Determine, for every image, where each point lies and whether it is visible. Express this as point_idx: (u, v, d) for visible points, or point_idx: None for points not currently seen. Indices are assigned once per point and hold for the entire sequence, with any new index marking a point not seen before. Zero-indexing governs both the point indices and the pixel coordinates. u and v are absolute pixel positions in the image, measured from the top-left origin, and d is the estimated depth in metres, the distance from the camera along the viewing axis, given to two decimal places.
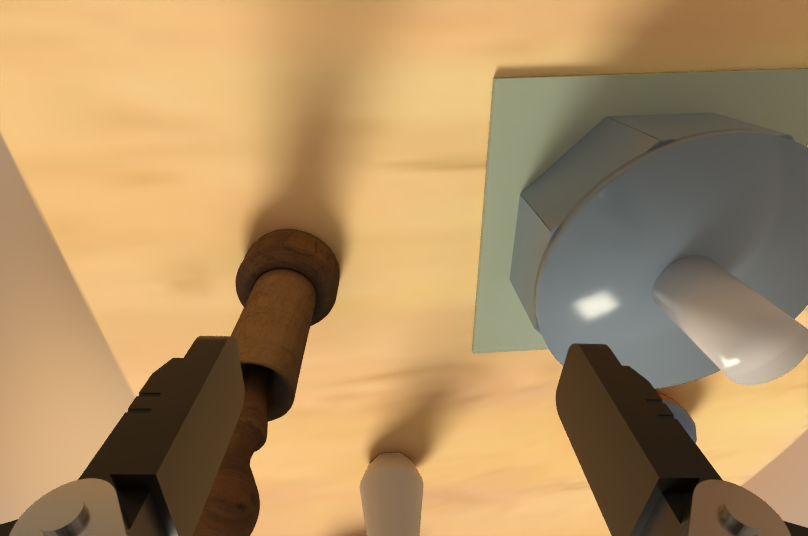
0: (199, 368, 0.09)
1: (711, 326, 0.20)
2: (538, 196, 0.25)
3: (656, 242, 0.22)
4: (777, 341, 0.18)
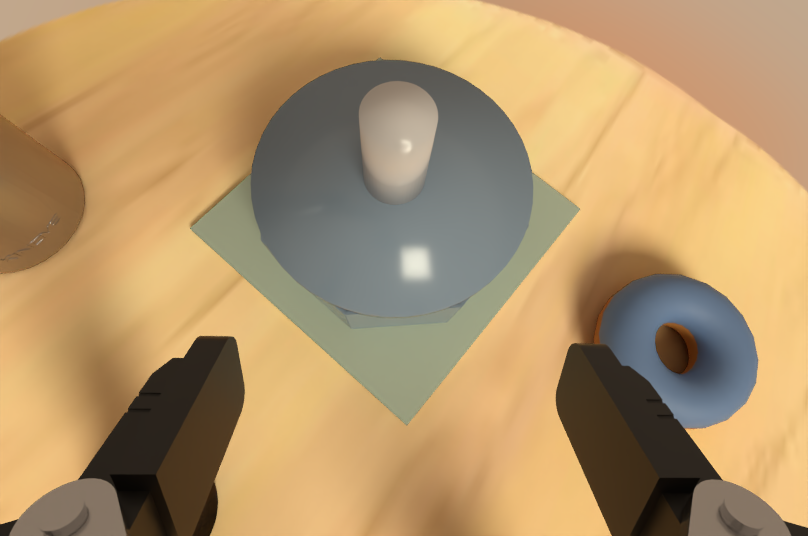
0: (199, 368, 0.09)
1: (365, 149, 0.20)
2: None
3: (331, 175, 0.25)
4: (387, 103, 0.19)
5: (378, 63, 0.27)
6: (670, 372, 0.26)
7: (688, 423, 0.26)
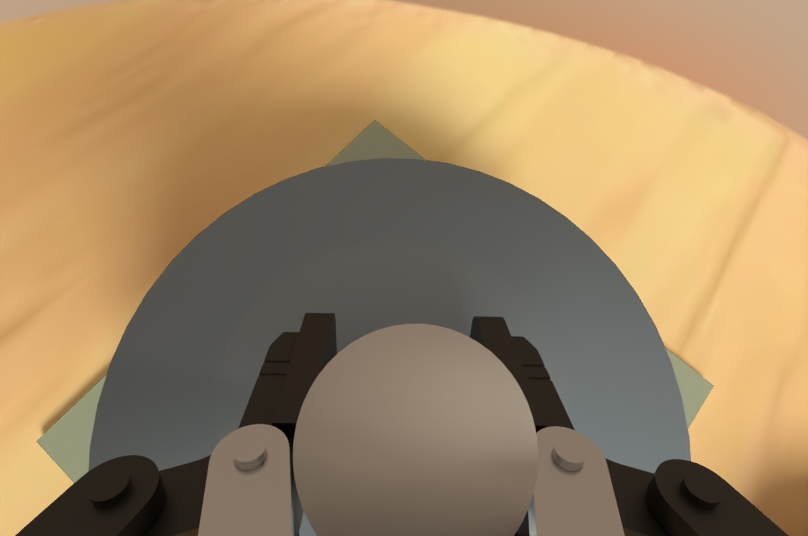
0: (317, 338, 0.09)
1: None
2: None
3: None
4: (384, 403, 0.06)
5: (368, 165, 0.14)
6: None
7: None
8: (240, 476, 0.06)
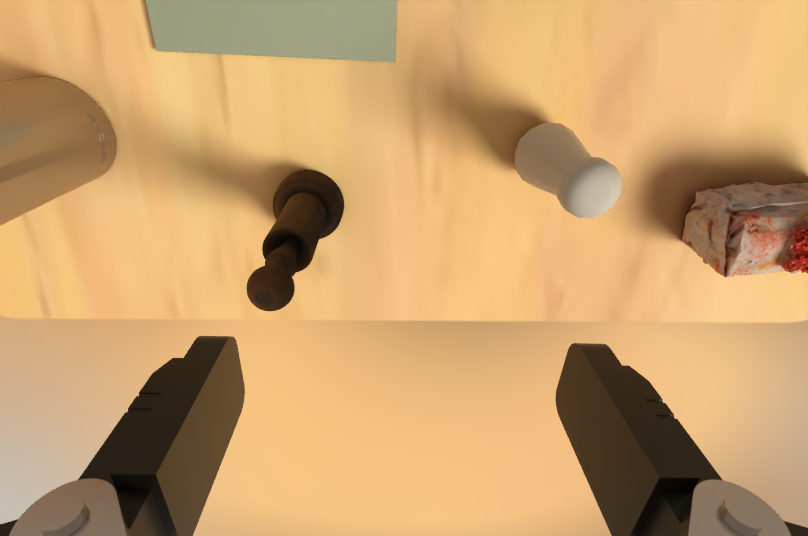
0: (199, 368, 0.09)
1: None
2: None
3: None
4: None
5: None
6: None
7: None
8: None
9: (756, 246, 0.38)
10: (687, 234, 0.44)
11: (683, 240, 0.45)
